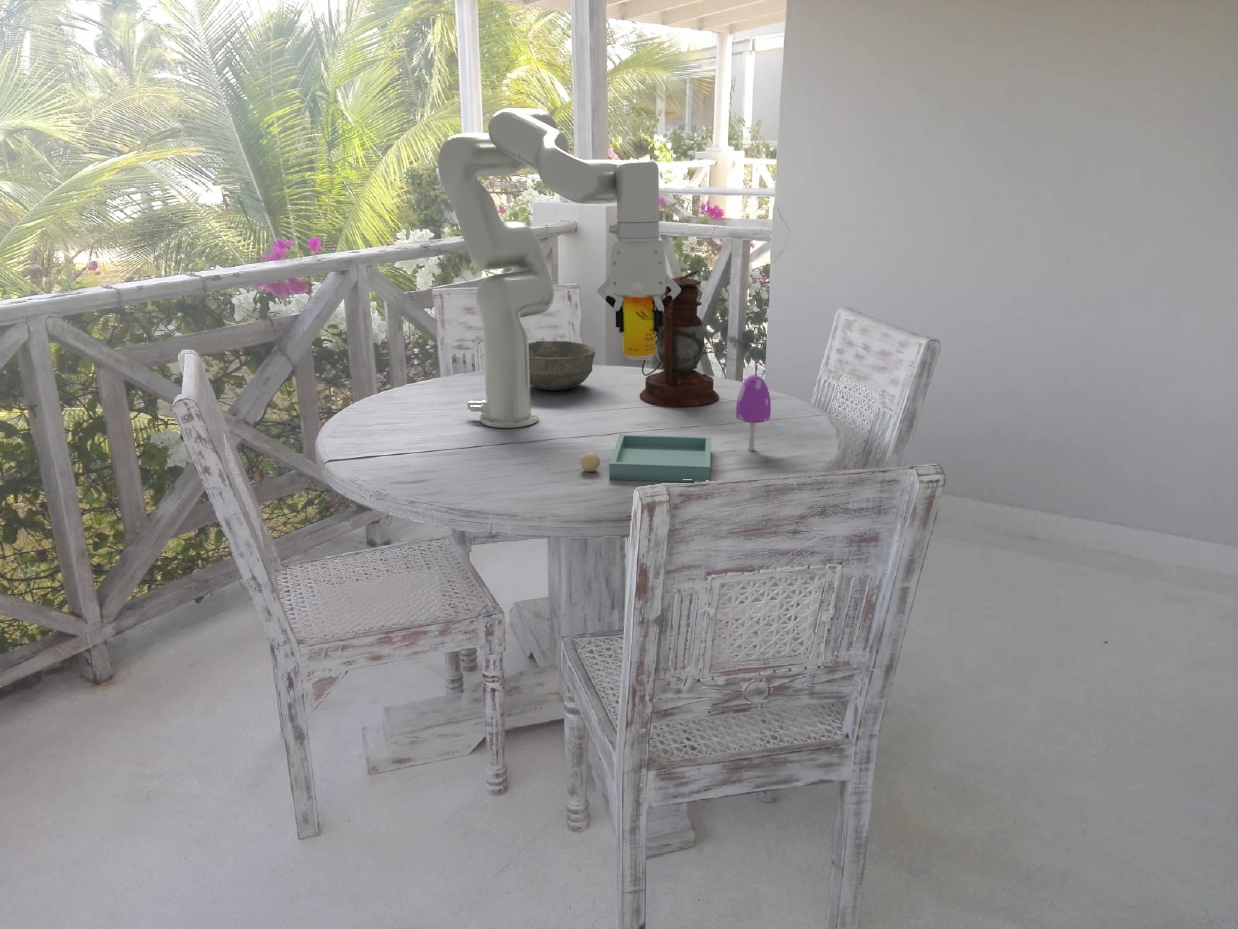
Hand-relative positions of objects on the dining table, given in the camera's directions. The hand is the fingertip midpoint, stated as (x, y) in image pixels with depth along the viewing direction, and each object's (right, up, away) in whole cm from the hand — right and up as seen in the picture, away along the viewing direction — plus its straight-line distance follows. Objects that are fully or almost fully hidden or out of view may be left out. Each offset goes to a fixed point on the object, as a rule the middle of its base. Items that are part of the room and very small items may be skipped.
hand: (639, 330), depth 175 cm
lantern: (+11, -9, +49) cm, 51 cm away
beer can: (0, -5, +2) cm, 5 cm away
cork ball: (-9, -26, -1) cm, 28 cm away
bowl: (-20, -6, +57) cm, 61 cm away
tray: (+4, -25, +2) cm, 25 cm away
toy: (+22, -22, +11) cm, 33 cm away
